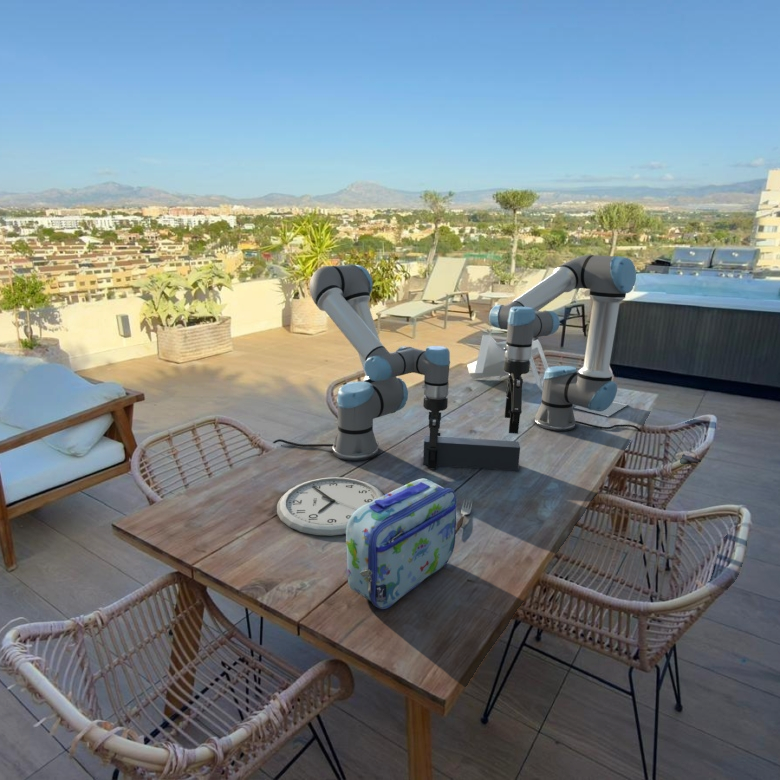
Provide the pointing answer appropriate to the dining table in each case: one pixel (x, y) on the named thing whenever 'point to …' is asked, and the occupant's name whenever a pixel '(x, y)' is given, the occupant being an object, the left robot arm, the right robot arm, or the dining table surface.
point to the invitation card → (609, 411)
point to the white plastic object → (500, 359)
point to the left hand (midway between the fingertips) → (432, 461)
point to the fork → (464, 512)
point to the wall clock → (324, 504)
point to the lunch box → (400, 540)
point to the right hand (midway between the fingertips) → (510, 425)
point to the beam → (475, 453)
